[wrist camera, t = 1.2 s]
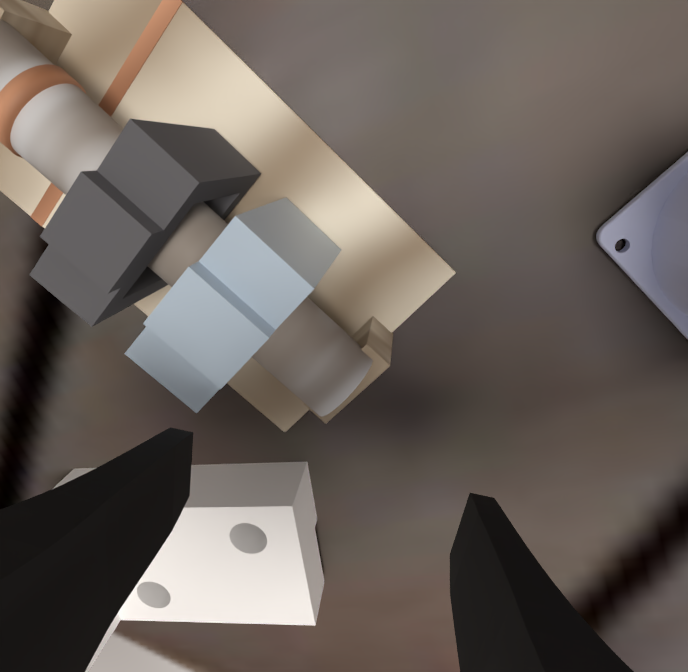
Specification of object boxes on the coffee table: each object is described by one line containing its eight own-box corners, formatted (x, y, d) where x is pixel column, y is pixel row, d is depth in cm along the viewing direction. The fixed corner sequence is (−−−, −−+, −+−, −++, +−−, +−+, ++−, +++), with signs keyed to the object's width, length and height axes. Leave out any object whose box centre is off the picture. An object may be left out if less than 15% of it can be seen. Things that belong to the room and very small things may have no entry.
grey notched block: (261, 173, 19) (188, 184, 13) (176, 280, 21) (78, 334, 15) (214, 128, 19) (115, 116, 12) (132, 241, 21) (11, 280, 14)
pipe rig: (457, 273, 20) (471, 311, 15) (287, 431, 24) (256, 501, 19) (98, -82, 17) (-22, -172, 12) (-30, 161, 21) (-159, 164, 16)
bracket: (113, 565, 29) (18, 698, 22) (77, 465, 26) (-43, 578, 19) (327, 567, 27) (297, 714, 20) (308, 458, 24) (266, 582, 17)
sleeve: (341, 249, 20) (309, 295, 13) (251, 346, 22) (187, 424, 15) (286, 197, 19) (226, 219, 13) (199, 300, 21) (112, 362, 15)
